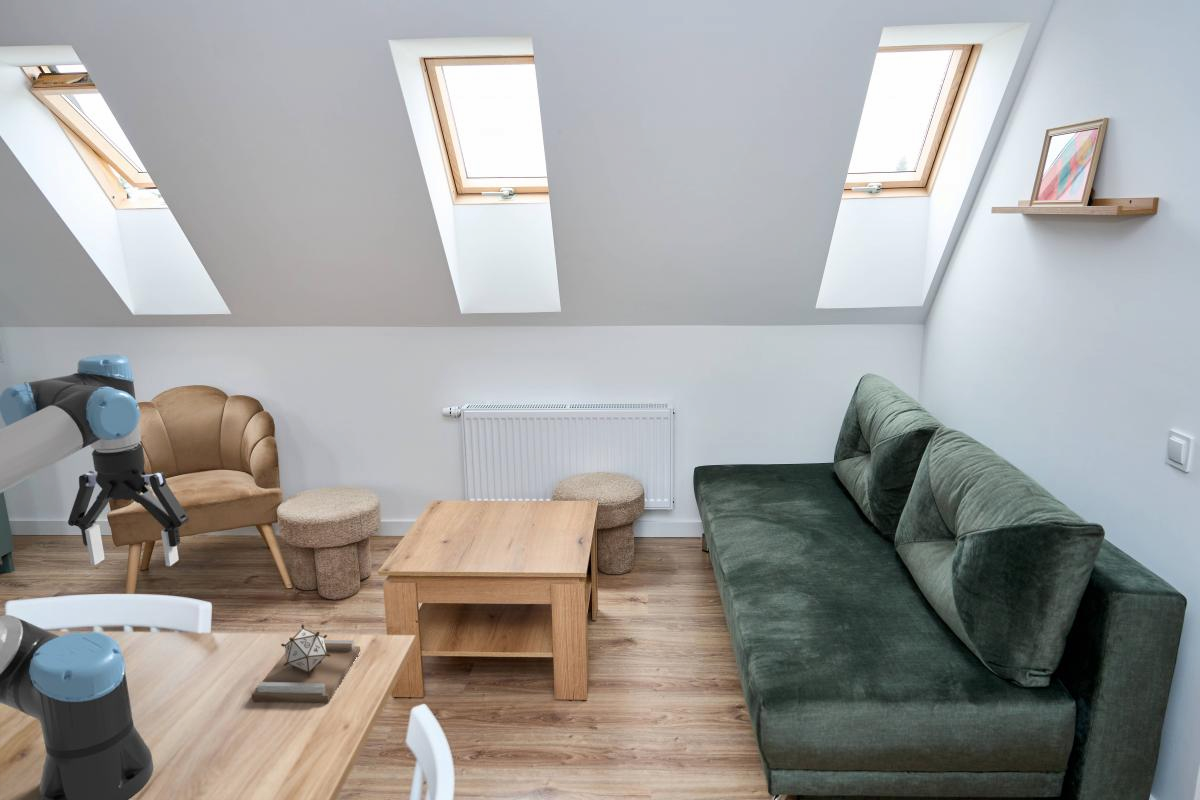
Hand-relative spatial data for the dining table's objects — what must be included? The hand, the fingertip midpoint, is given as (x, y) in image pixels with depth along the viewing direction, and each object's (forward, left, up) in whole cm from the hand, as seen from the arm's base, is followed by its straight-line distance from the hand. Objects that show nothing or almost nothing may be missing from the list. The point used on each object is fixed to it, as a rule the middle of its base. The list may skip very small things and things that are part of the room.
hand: (135, 562), depth 148 cm
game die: (-6, -26, -25) cm, 37 cm away
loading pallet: (-6, -26, -27) cm, 38 cm away
